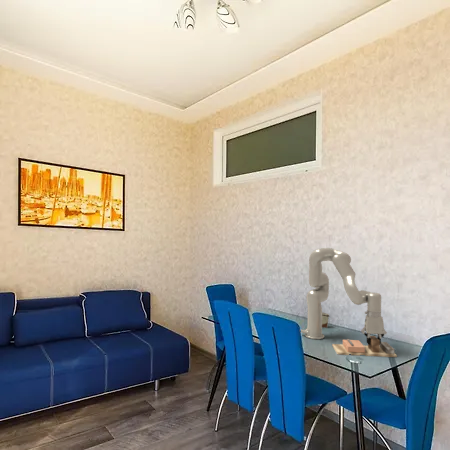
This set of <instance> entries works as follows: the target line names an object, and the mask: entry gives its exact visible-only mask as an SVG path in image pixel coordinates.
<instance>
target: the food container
mask: <svg viewBox="0 0 450 450" xmlns="http://www.w3.org/2000/svg"><path fill="white" fill-rule="evenodd" d="M329 318H330V314H329V313H327V312H323V311H322V329H323V328H324V329H328V325H329Z"/></svg>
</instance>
